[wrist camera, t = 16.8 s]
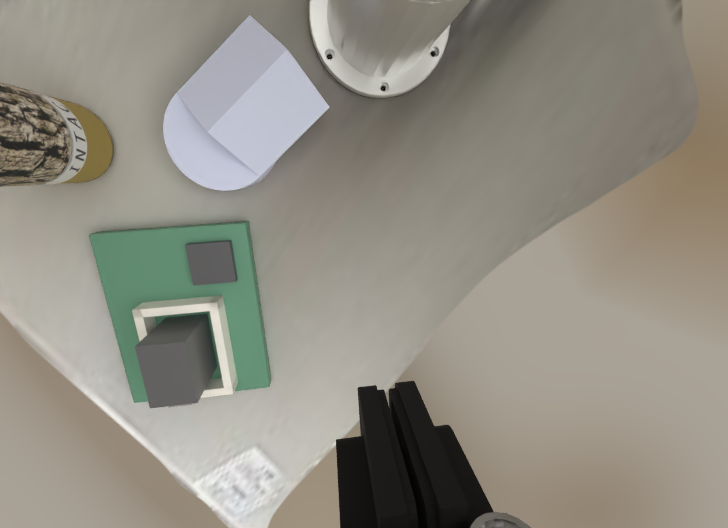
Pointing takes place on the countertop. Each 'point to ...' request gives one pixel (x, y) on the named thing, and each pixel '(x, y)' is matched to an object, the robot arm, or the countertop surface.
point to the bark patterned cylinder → (49, 140)
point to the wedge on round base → (240, 111)
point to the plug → (177, 360)
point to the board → (187, 296)
